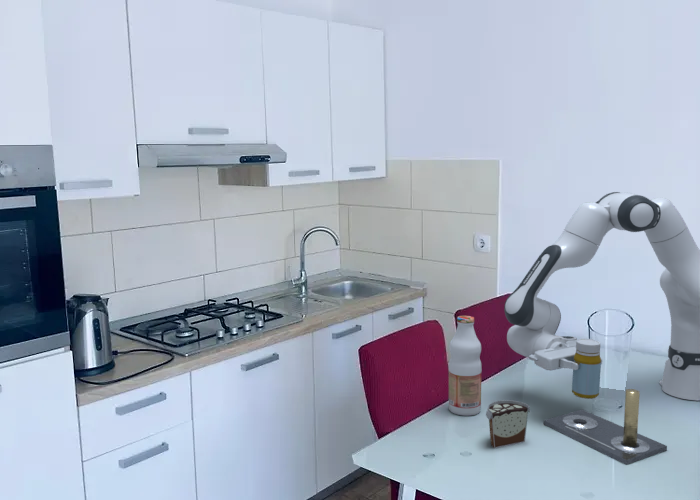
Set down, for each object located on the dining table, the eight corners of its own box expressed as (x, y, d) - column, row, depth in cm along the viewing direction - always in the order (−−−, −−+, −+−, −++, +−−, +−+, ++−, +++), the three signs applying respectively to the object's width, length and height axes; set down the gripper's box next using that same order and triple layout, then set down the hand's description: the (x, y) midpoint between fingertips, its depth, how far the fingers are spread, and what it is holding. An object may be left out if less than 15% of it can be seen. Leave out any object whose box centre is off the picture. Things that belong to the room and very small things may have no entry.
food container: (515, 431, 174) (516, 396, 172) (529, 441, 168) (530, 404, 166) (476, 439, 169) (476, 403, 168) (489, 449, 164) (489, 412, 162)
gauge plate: (582, 413, 185) (584, 361, 183) (666, 450, 161) (670, 391, 159) (543, 424, 178) (545, 371, 176) (626, 464, 154) (629, 403, 152)
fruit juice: (441, 410, 189) (442, 317, 185) (460, 401, 195) (461, 311, 191) (468, 419, 182) (470, 323, 178) (487, 409, 189) (488, 317, 185)
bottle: (600, 400, 172) (604, 346, 170) (573, 398, 174) (576, 344, 171) (596, 390, 179) (599, 338, 177) (570, 389, 180) (573, 337, 178)
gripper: (525, 345, 181) (562, 359, 169) (577, 335, 190) (615, 347, 178) (524, 366, 182) (561, 382, 170) (576, 355, 191) (614, 369, 179)
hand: (589, 364), depth 174 cm, fingers closed on bottle, 7 cm apart
